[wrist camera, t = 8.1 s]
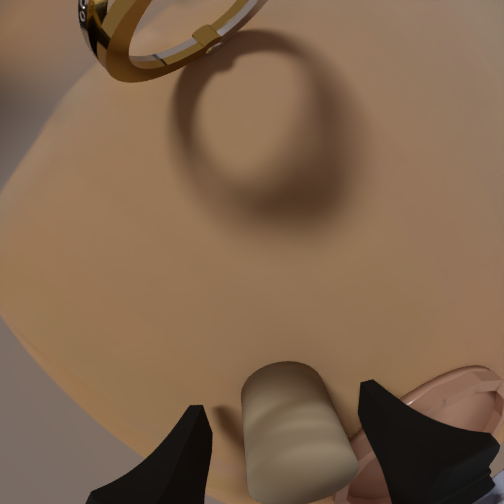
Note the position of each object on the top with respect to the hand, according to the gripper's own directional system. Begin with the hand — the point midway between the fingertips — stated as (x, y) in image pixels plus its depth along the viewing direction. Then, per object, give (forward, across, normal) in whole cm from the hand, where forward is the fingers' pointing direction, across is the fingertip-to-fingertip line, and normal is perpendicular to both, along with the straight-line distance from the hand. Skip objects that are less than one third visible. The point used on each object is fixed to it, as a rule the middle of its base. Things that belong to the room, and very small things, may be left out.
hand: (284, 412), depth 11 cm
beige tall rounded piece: (+1, 0, 0) cm, 1 cm away
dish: (+2, -10, +9) cm, 14 cm away
